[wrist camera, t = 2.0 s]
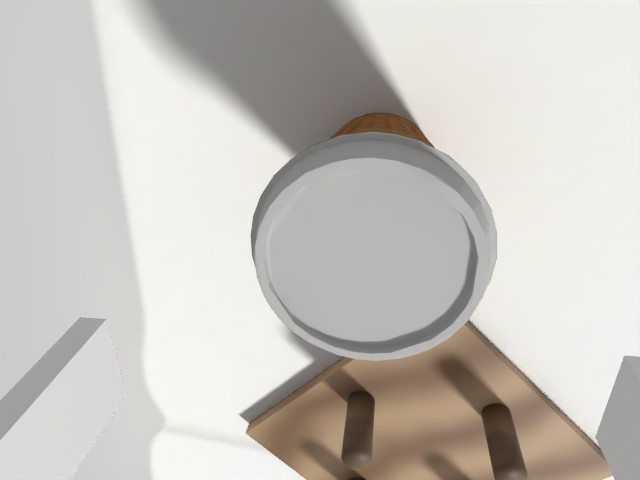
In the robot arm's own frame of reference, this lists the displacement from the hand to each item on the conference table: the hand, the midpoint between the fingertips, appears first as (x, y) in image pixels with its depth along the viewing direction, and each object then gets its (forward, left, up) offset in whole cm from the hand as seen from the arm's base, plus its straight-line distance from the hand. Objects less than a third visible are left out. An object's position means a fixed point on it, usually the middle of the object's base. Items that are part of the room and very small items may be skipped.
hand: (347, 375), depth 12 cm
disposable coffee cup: (0, 0, -18) cm, 18 cm away
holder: (-19, +13, -18) cm, 29 cm away
